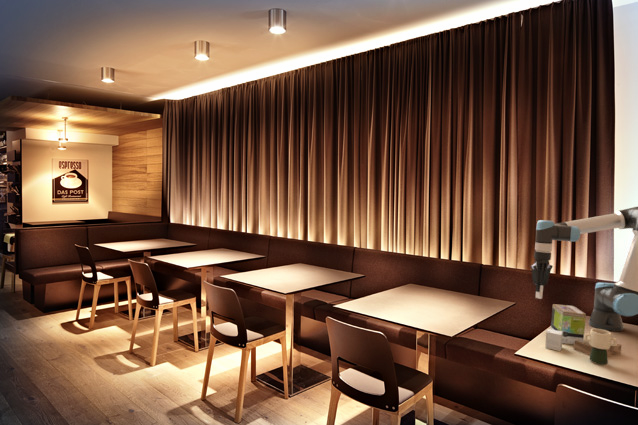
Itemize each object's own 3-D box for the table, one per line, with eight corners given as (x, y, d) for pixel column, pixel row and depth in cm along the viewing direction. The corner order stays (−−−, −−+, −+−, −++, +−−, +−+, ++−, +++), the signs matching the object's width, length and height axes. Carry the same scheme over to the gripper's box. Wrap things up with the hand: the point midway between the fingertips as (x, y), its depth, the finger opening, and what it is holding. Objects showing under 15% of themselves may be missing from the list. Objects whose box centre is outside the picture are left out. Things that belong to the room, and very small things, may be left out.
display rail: (598, 346, 198) (598, 336, 198) (620, 354, 189) (621, 344, 189) (574, 349, 192) (574, 340, 192) (596, 358, 183) (597, 348, 183)
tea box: (584, 345, 198) (586, 313, 197) (559, 343, 200) (562, 311, 199) (572, 335, 213) (574, 305, 212) (549, 333, 215) (551, 303, 214)
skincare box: (562, 347, 194) (563, 331, 194) (560, 351, 189) (561, 334, 189) (546, 344, 198) (547, 328, 197) (544, 348, 193) (546, 331, 192)
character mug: (613, 363, 178) (616, 331, 178) (615, 369, 172) (618, 336, 171) (582, 357, 184) (584, 326, 183) (583, 362, 177) (585, 330, 177)
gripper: (545, 250, 225) (541, 295, 226) (527, 250, 220) (523, 296, 221) (558, 252, 218) (554, 299, 219) (539, 252, 213) (535, 300, 214)
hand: (538, 298), depth 220 cm, fingers closed
